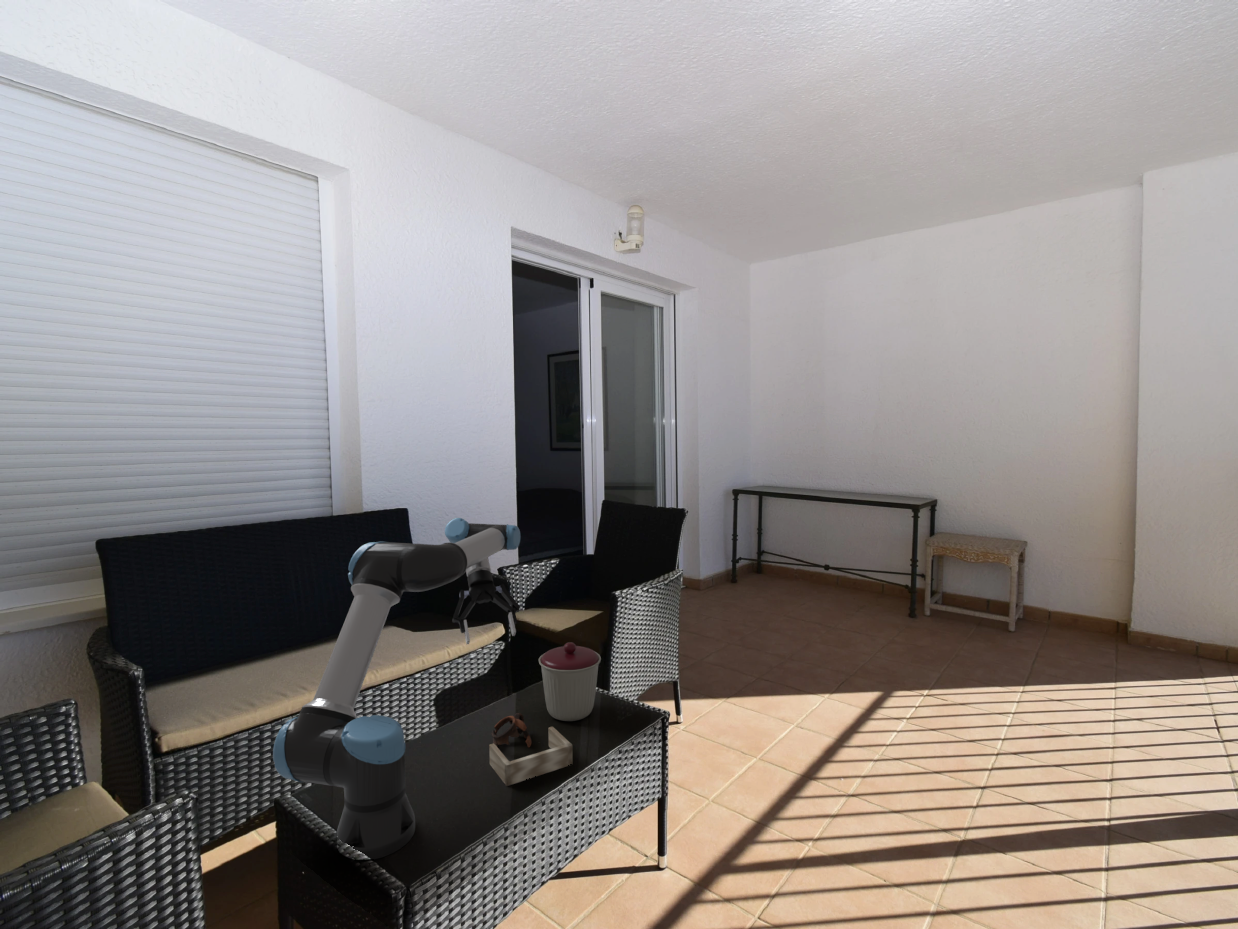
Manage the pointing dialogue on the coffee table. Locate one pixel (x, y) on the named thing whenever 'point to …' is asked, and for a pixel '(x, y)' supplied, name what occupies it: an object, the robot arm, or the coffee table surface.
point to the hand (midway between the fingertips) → (491, 638)
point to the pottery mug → (511, 730)
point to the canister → (569, 681)
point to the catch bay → (533, 760)
